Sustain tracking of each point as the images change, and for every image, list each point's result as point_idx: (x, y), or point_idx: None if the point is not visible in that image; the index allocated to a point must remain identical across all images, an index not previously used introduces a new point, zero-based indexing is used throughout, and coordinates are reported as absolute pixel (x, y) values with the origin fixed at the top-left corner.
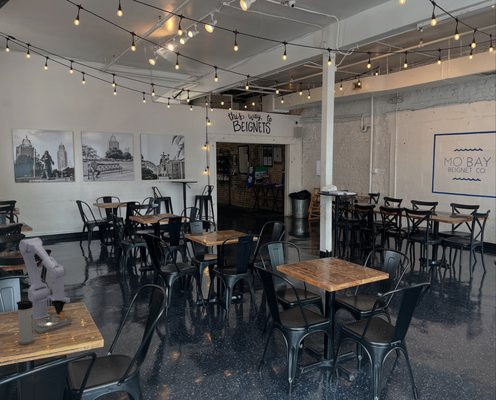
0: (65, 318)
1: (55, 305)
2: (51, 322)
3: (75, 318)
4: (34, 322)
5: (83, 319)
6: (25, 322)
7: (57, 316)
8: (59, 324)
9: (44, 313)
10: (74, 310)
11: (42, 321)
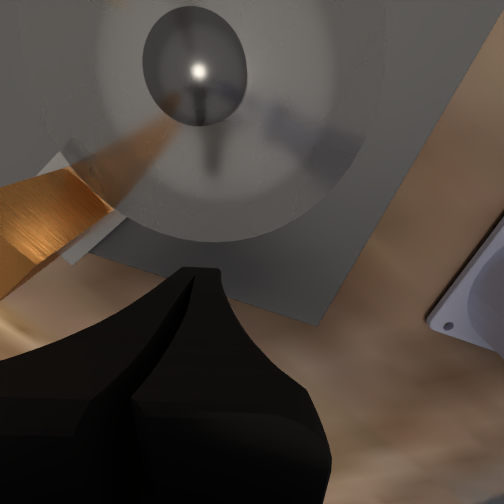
0: (83, 252)
1: (166, 357)
2: (122, 48)
3: None
4: (472, 29)
5: (26, 346)
6: None
7: (299, 305)
8: (27, 98)
9: (500, 301)
10: None
11: (313, 31)
